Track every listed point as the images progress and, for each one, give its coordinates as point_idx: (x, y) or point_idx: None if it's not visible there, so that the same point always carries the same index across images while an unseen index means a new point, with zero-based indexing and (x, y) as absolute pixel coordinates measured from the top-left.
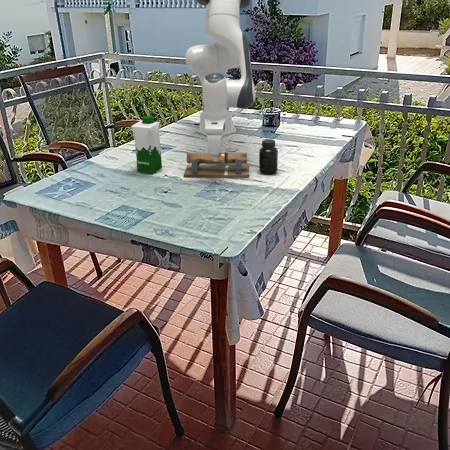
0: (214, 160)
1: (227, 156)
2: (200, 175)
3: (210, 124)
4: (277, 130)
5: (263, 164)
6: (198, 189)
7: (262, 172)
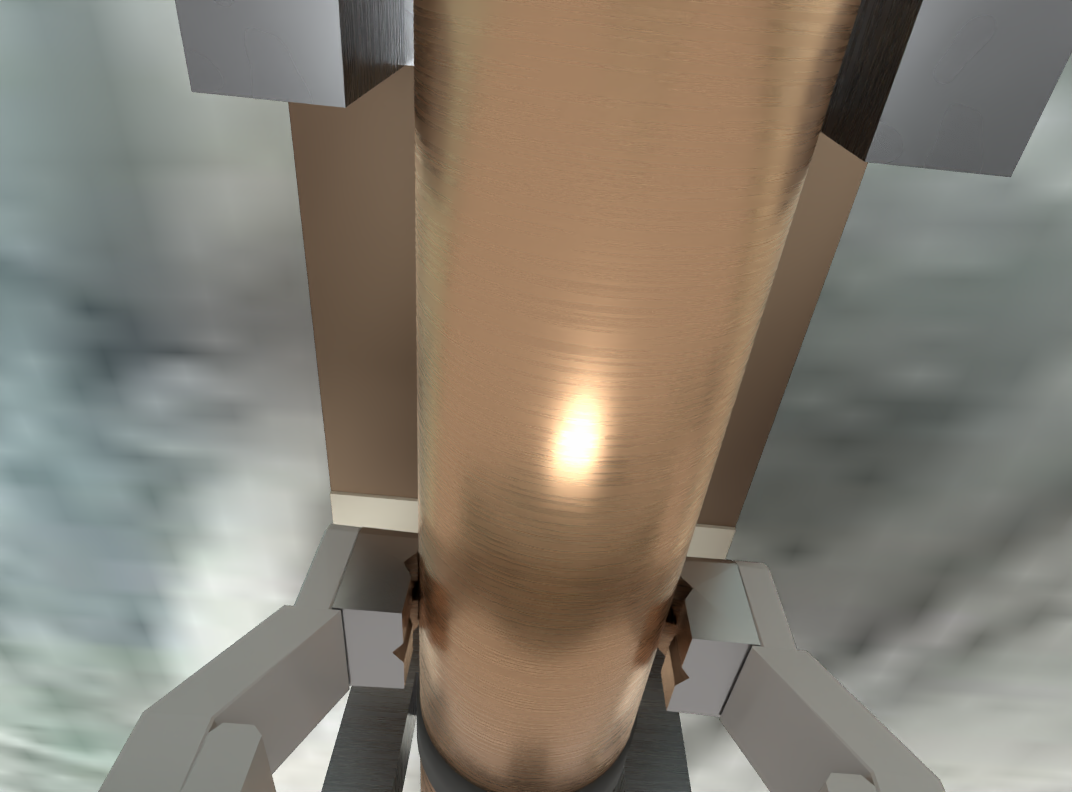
0: (324, 551)
1: (427, 777)
2: (292, 111)
3: None
4: None
5: None
6: None
7: None
